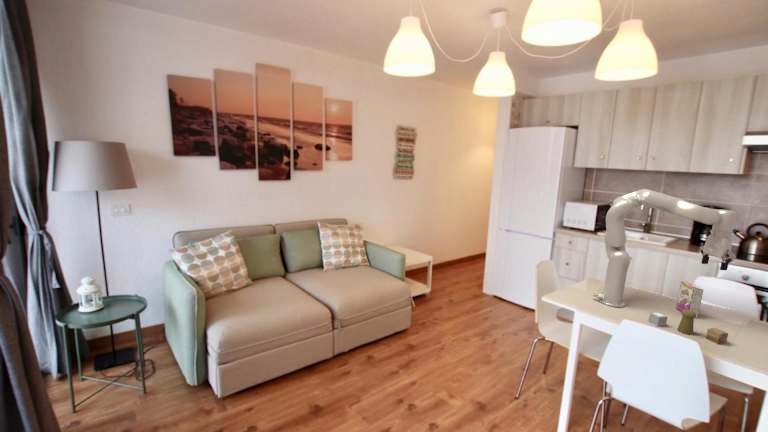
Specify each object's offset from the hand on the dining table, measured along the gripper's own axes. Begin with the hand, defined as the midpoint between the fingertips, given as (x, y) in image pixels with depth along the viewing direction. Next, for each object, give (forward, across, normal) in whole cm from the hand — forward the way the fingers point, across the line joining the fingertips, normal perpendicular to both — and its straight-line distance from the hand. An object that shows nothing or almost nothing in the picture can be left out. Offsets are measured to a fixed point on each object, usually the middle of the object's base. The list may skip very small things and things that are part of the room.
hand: (713, 266), depth 182 cm
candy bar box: (+29, -7, -2) cm, 30 cm away
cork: (+29, +13, -22) cm, 39 cm away
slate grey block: (+29, +5, -30) cm, 42 cm away
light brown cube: (+29, +21, -15) cm, 39 cm away
